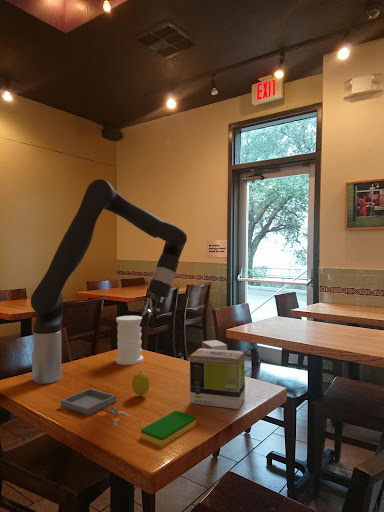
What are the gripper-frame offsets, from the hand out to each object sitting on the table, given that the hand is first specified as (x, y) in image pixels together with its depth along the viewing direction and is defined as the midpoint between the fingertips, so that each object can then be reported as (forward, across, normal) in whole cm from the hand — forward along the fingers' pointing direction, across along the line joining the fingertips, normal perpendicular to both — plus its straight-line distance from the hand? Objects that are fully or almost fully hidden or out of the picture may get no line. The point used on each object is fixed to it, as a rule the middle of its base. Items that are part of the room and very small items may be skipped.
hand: (145, 327), depth 121 cm
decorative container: (+12, -36, +8) cm, 39 cm away
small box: (+9, -1, +31) cm, 32 cm away
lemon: (+21, +3, +5) cm, 22 cm away
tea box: (+15, +16, +25) cm, 33 cm away
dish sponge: (+25, +27, +7) cm, 37 cm away
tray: (+27, +3, -10) cm, 29 cm away
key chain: (+27, +12, -4) cm, 30 cm away
